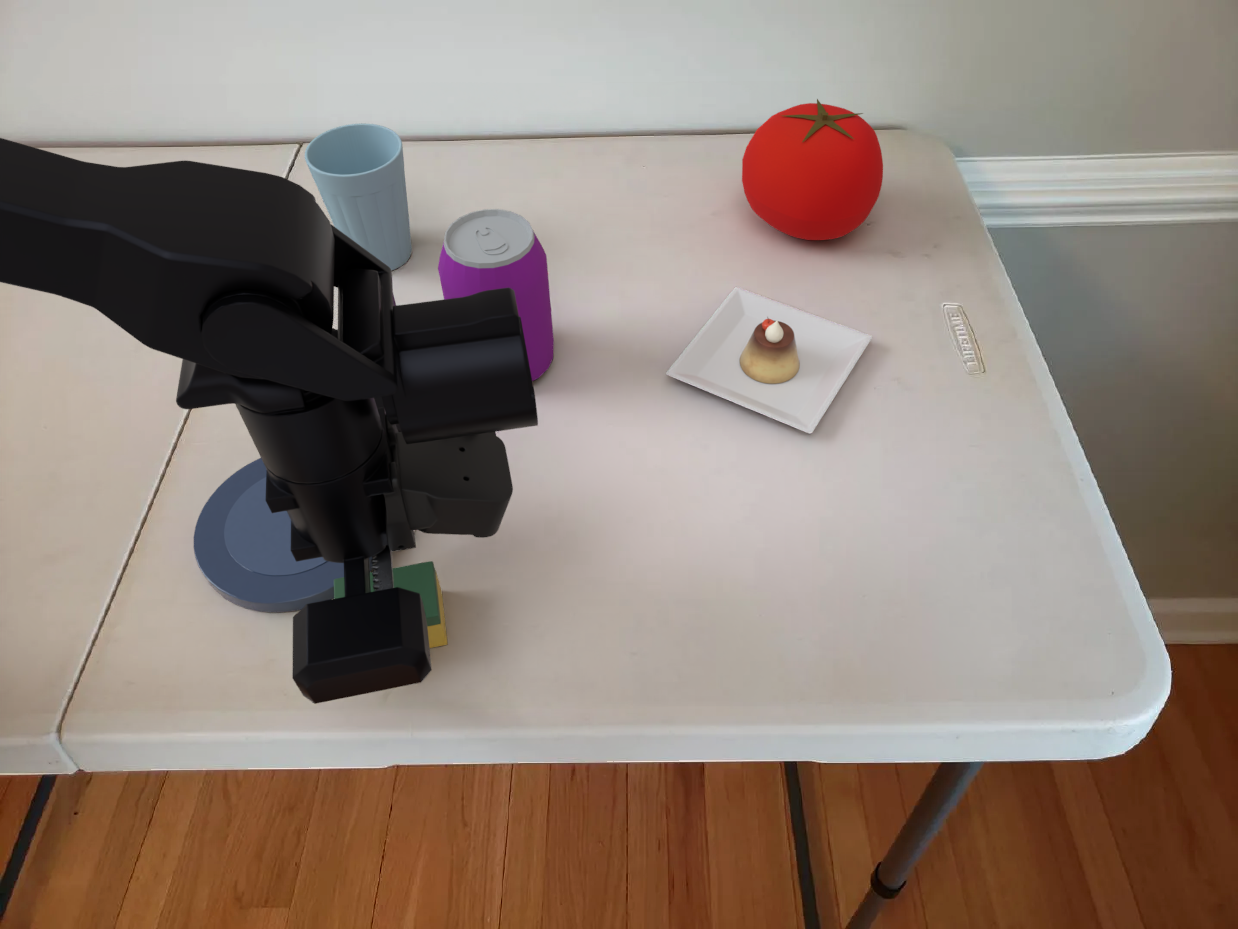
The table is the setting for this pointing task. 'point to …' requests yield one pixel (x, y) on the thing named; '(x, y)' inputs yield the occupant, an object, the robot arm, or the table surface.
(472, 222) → the beverage can
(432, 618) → the sponge
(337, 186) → the cup
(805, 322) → the dessert
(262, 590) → the plate
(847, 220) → the tomato
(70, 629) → the table surface
